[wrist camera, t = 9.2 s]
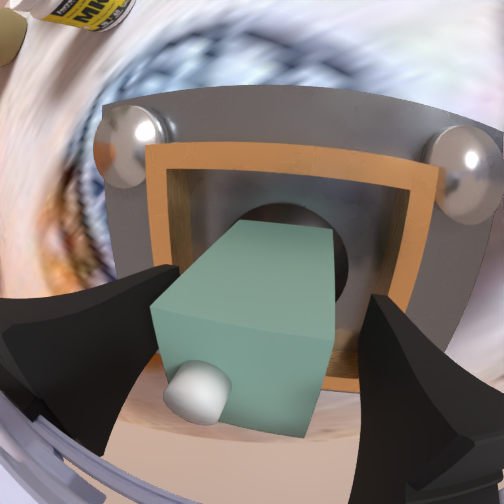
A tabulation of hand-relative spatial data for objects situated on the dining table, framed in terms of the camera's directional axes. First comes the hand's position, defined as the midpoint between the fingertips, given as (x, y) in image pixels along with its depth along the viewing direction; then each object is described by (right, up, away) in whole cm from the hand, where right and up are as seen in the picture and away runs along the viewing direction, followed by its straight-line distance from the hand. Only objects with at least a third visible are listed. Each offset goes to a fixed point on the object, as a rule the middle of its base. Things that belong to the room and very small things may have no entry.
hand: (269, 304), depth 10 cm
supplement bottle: (-11, +20, +2) cm, 22 cm away
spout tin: (+1, +1, +3) cm, 3 cm away
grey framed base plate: (+1, +2, +5) cm, 6 cm away
